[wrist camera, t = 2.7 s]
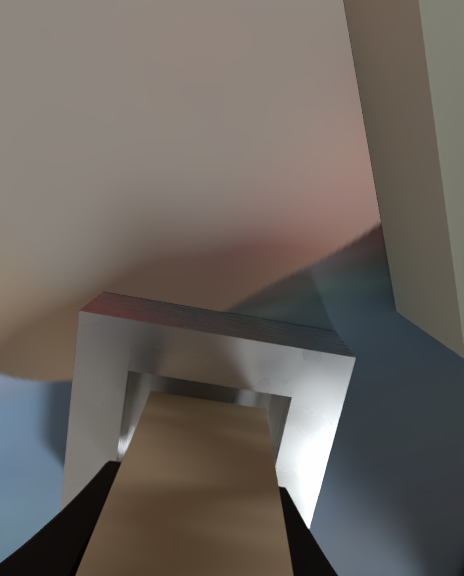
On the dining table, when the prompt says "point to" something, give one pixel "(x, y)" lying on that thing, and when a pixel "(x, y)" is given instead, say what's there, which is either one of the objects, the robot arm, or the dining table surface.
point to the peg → (193, 496)
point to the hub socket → (416, 150)
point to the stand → (203, 383)
